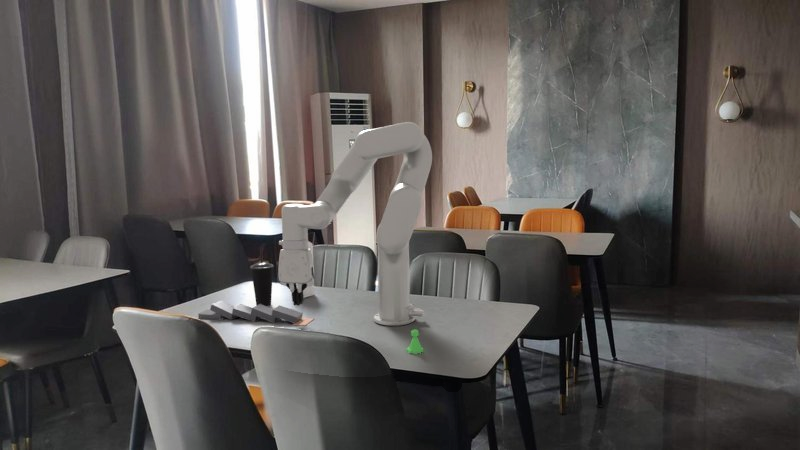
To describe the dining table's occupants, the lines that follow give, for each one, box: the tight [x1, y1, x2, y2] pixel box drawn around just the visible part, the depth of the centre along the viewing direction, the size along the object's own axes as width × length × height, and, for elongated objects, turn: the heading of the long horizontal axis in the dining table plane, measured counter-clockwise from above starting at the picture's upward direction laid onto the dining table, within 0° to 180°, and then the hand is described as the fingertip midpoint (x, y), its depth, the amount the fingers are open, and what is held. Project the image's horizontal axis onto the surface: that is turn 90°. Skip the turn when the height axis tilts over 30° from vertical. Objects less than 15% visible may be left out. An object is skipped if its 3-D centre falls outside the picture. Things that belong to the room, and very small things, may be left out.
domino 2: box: [209, 300, 239, 321], centre depth 191 cm, size 2×5×8 cm
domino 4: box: [251, 304, 281, 324], centre depth 187 cm, size 2×5×8 cm
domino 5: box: [271, 305, 304, 324], centre depth 185 cm, size 2×5×8 cm
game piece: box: [406, 328, 424, 355], centre depth 156 cm, size 4×4×6 cm
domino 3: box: [232, 303, 262, 323], centre depth 188 cm, size 2×5×8 cm
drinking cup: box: [250, 246, 274, 307], centre depth 203 cm, size 8×8×20 cm
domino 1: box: [197, 309, 226, 320], centre depth 192 cm, size 2×5×8 cm
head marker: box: [292, 317, 314, 327], centre depth 184 cm, size 4×7×1 cm, turn 167°
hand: (298, 304), depth 184 cm, fingers closed
